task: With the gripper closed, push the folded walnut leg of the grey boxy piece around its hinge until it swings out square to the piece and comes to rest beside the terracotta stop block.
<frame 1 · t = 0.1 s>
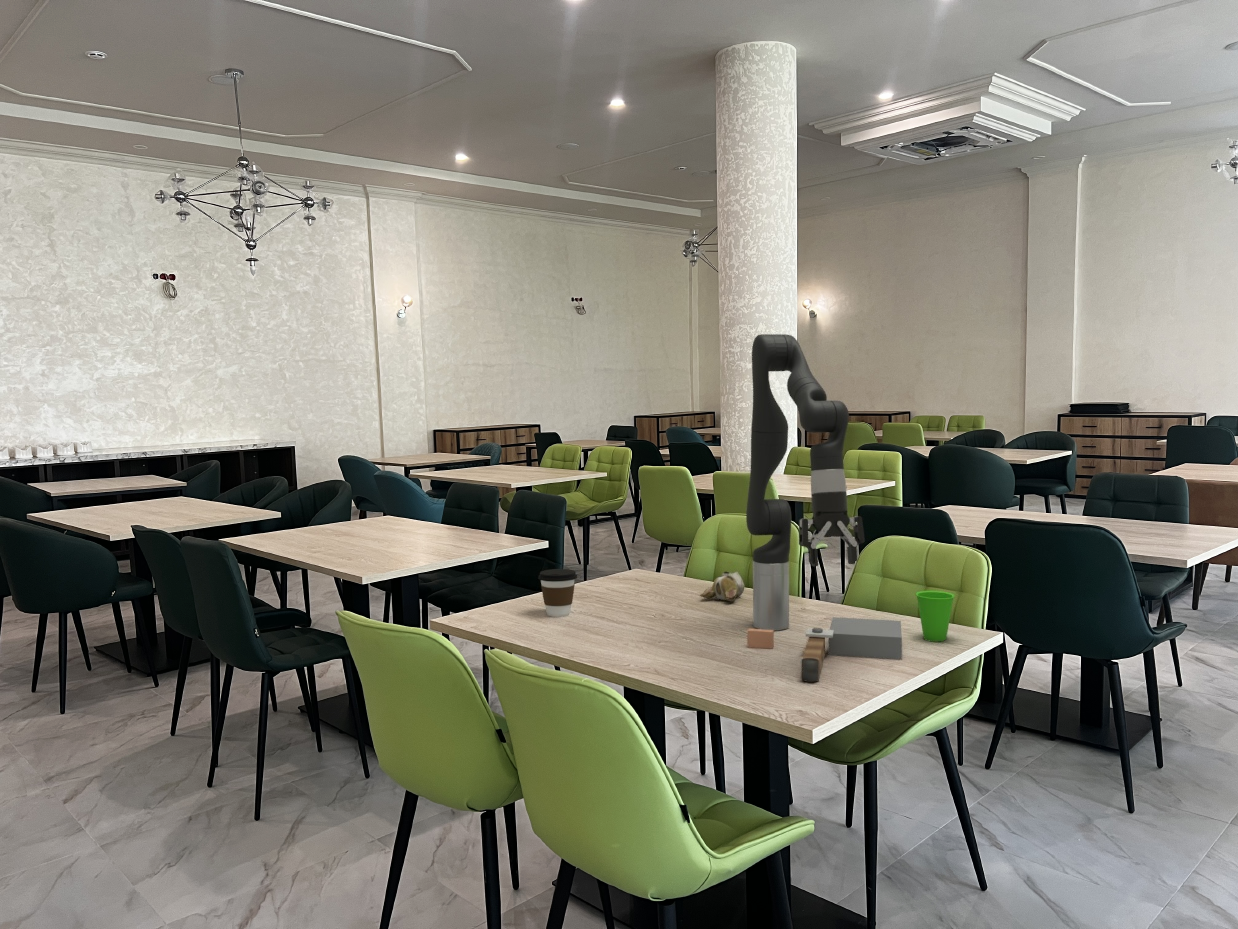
hand: (833, 565, 193), 22 cm above the table, fingers open, 8 cm apart
ceramic sculpture: (726, 600, 263), on the table
leg: (814, 656, 194), point 2 cm above the table, hinge at 0.0°
grey boxy piece: (865, 647, 208), on the table
coffee cup: (558, 615, 247), on the table
cup: (934, 639, 215), on the table
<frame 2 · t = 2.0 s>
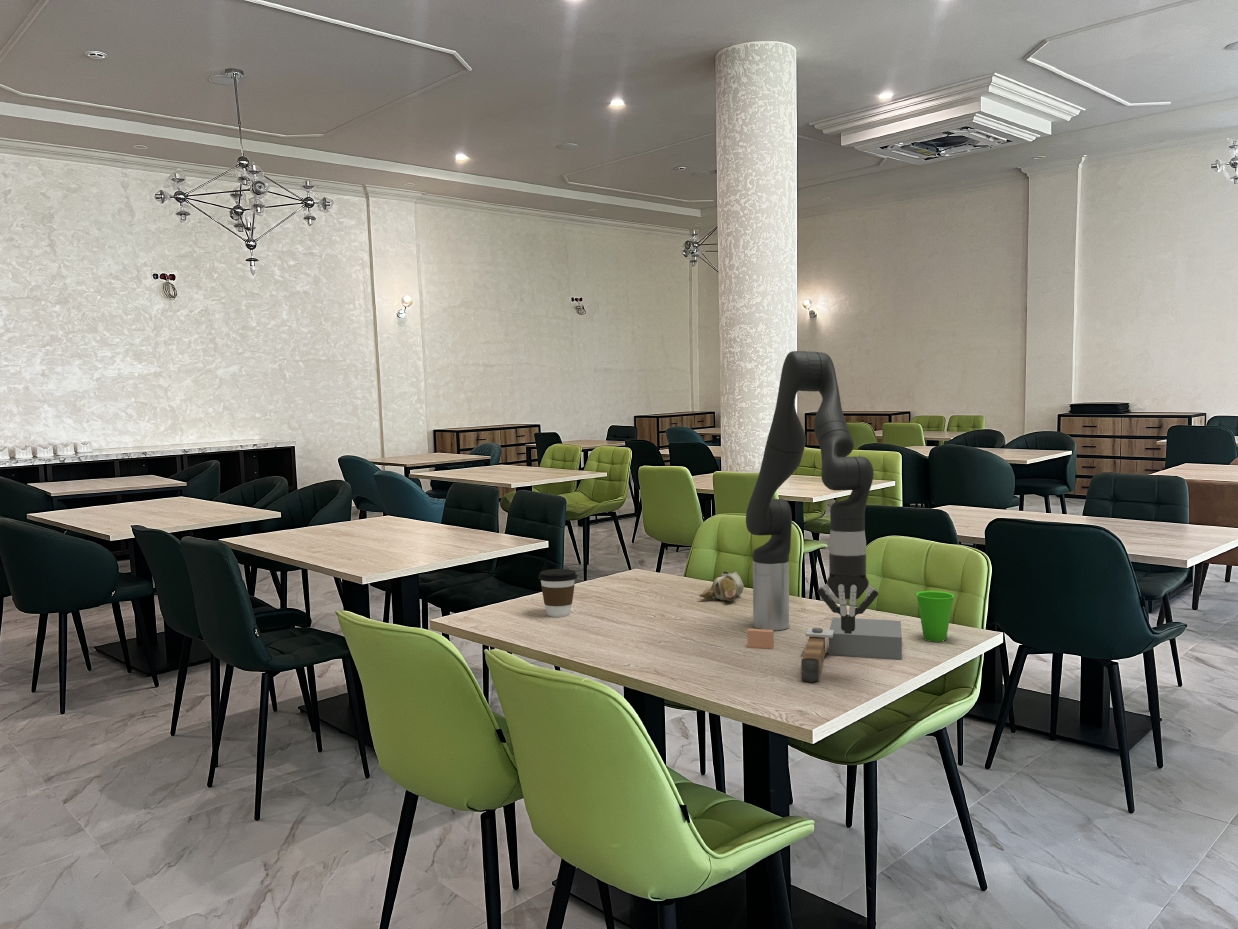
hand: (848, 632, 186), 9 cm above the table, fingers closed
nothing on the table moved.
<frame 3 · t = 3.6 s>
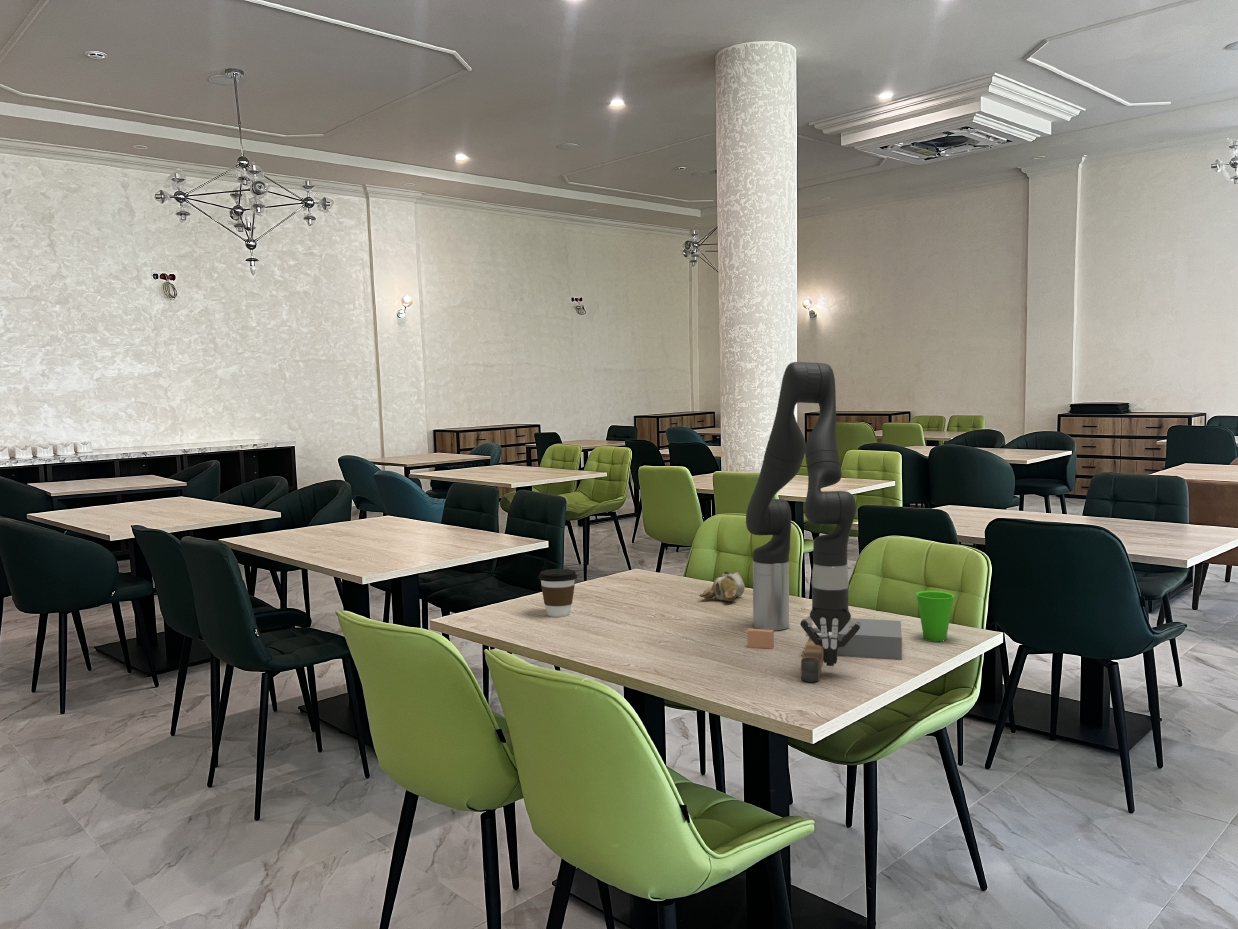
hand: (830, 665, 188), 2 cm above the table, fingers closed
leg: (813, 656, 194), point 2 cm above the table, hinge at -0.1°, touching gripper
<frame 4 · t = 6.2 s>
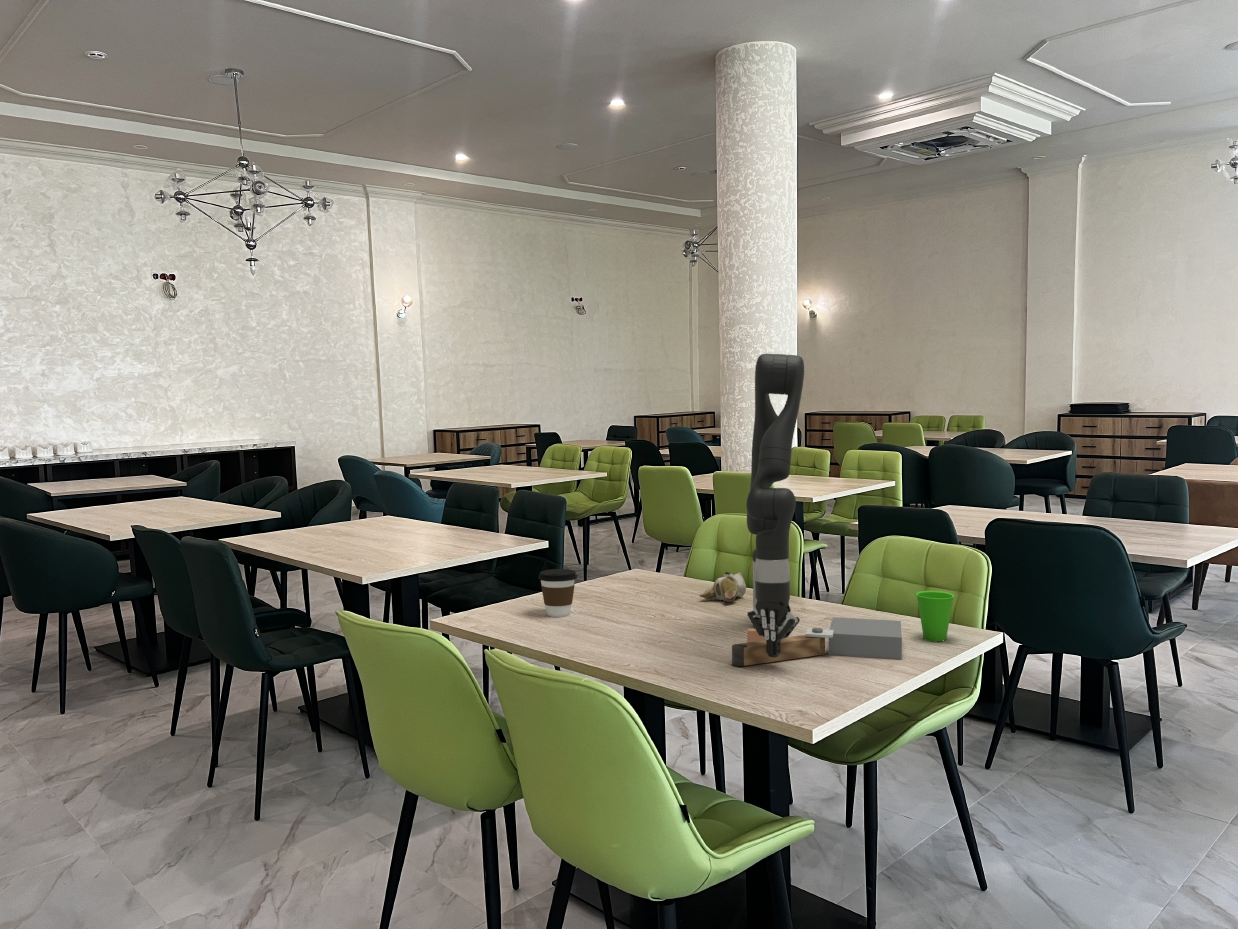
hand: (773, 656, 195), 2 cm above the table, fingers closed
leg: (779, 649, 200), point 2 cm above the table, hinge at -50.8°, touching gripper
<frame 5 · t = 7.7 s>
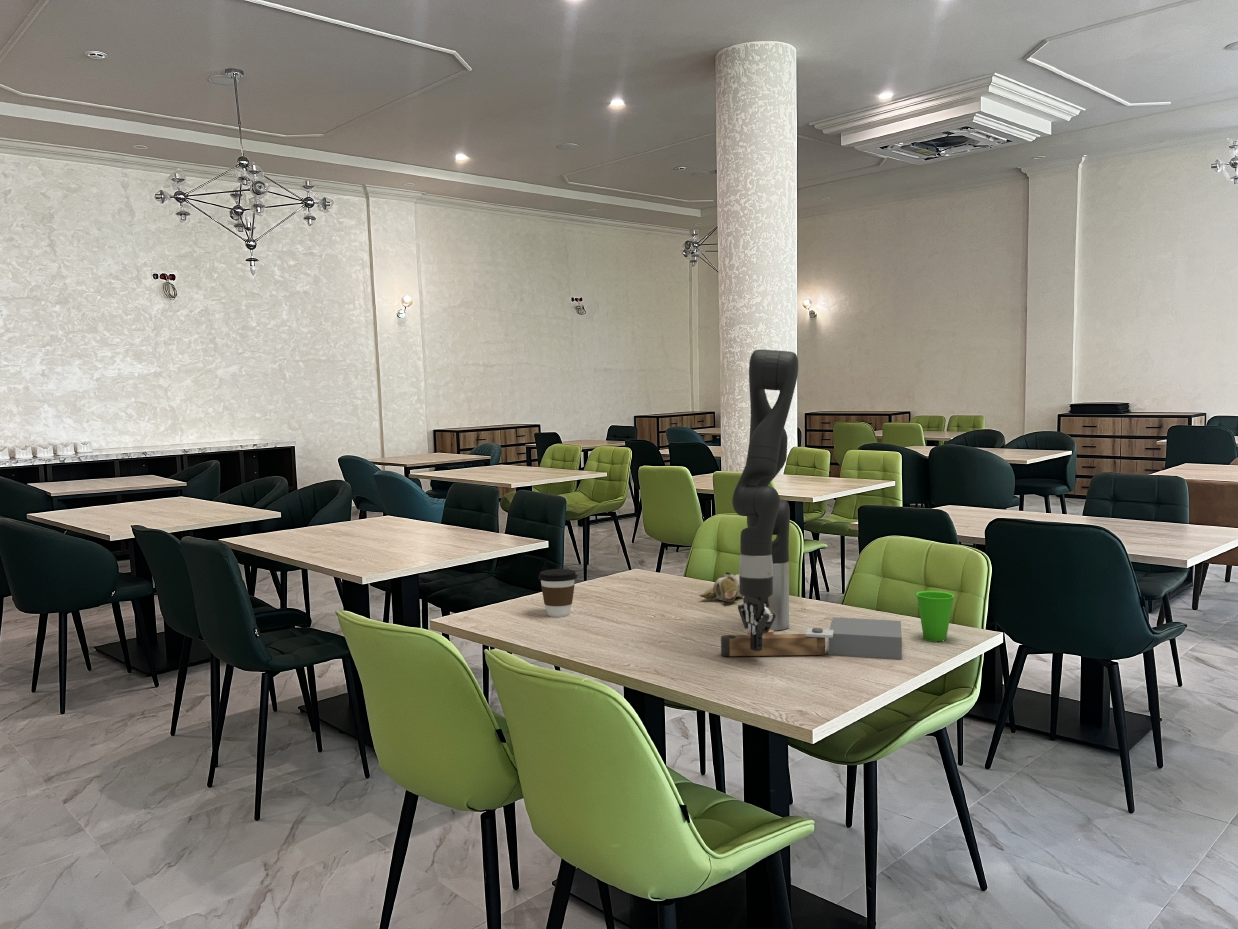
hand: (756, 650, 200), 2 cm above the table, fingers closed
leg: (773, 644, 204), point 2 cm above the table, hinge at -73.3°, touching gripper
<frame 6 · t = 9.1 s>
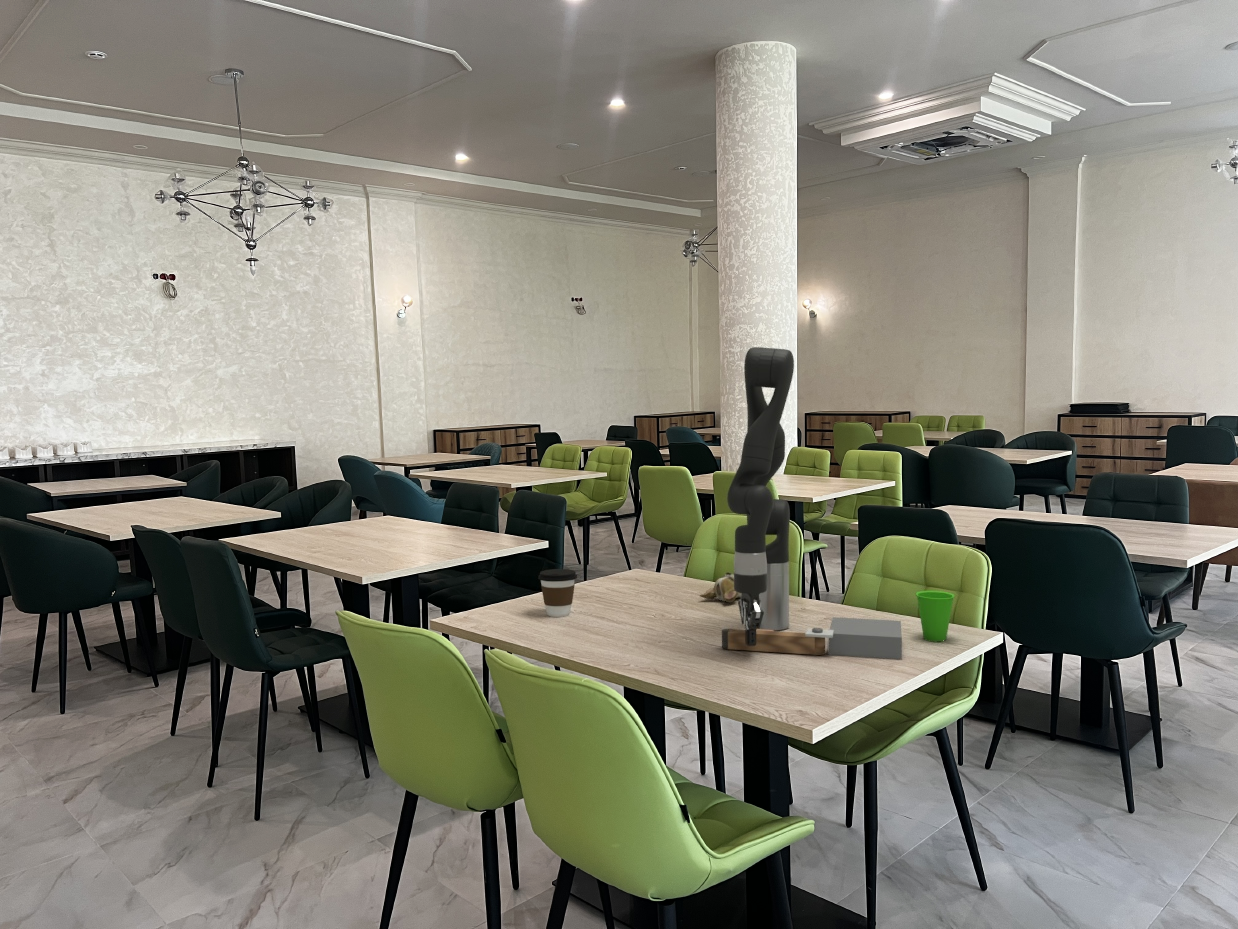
hand: (750, 645, 204), 2 cm above the table, fingers closed
leg: (772, 641, 206), point 2 cm above the table, hinge at -89.8°, touching gripper
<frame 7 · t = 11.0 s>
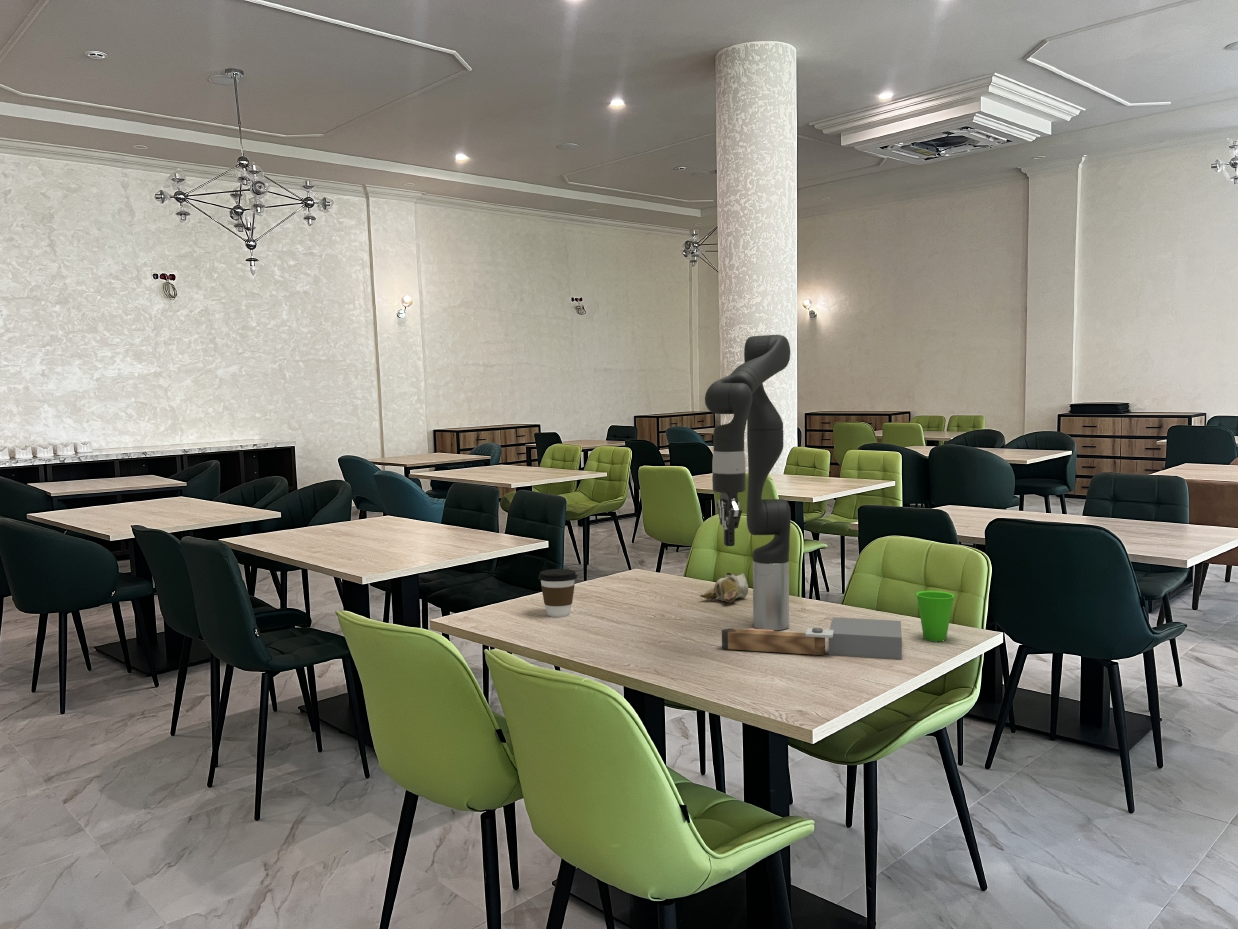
hand: (729, 545, 203), 25 cm above the table, fingers closed
leg: (772, 641, 206), point 2 cm above the table, hinge at -89.8°
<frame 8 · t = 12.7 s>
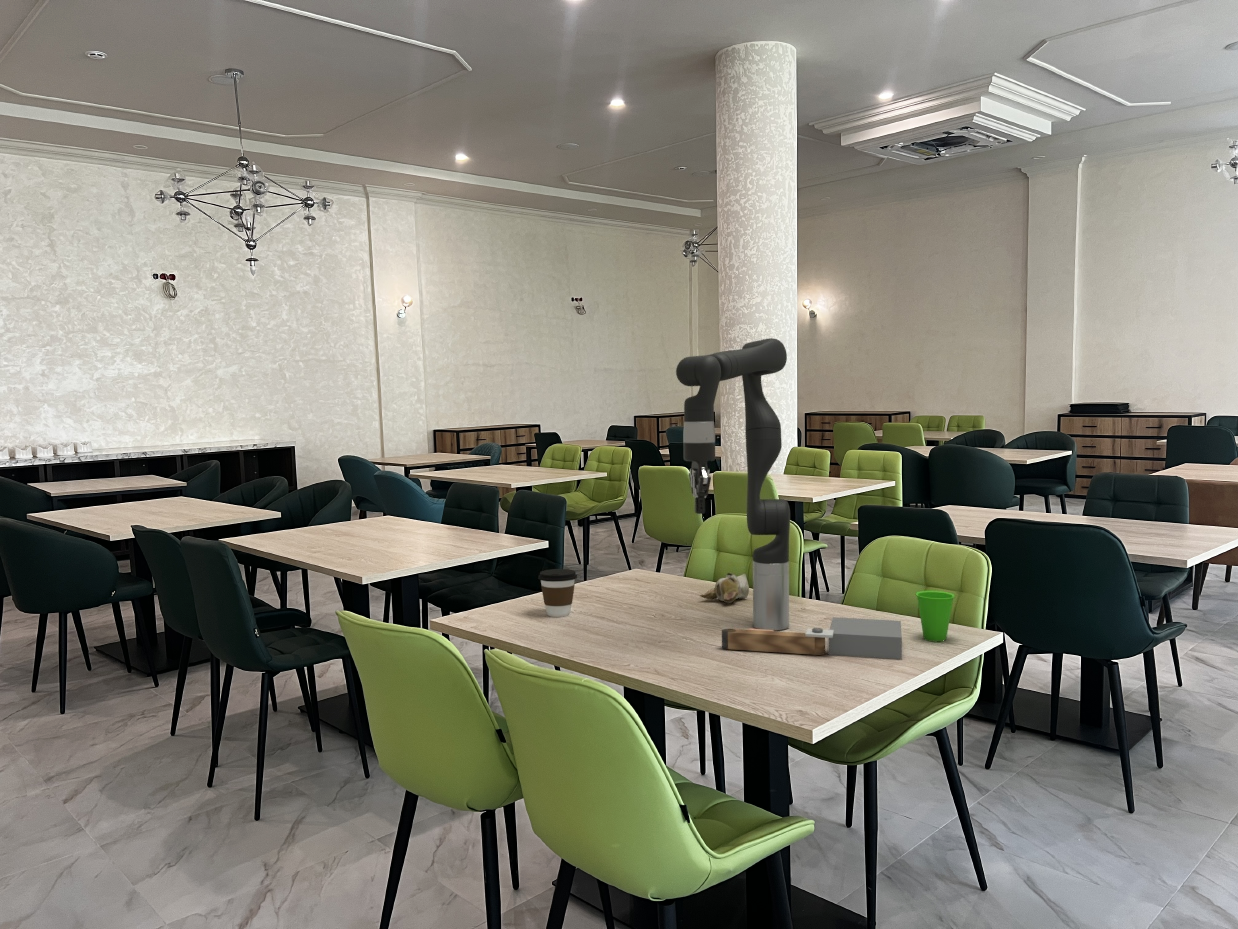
hand: (699, 513, 211), 32 cm above the table, fingers closed
at the end: leg at -90° (first picture: +0°); cup moved 0.2 cm from its start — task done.
